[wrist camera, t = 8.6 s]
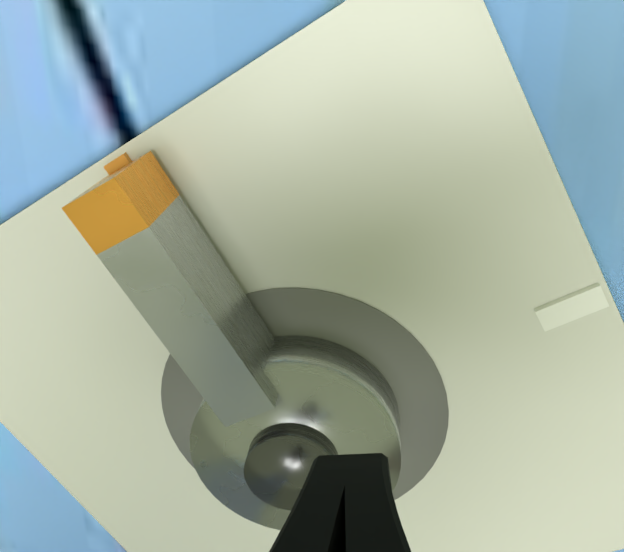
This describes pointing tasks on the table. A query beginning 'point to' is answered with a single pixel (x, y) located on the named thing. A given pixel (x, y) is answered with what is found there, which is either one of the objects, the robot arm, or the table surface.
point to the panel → (346, 292)
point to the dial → (234, 352)
